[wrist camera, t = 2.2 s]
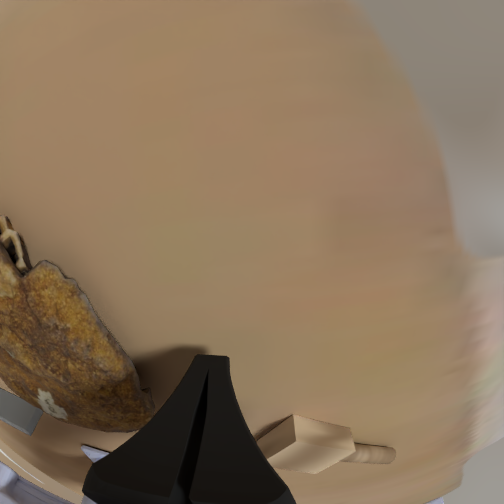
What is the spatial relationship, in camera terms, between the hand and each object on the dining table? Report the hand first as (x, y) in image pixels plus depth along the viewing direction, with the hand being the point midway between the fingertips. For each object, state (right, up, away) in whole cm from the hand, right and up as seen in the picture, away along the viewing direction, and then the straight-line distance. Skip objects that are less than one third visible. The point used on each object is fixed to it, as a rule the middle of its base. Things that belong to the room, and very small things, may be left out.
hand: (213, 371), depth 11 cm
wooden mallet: (+8, -9, +5) cm, 13 cm away
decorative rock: (-10, +1, +2) cm, 10 cm away
